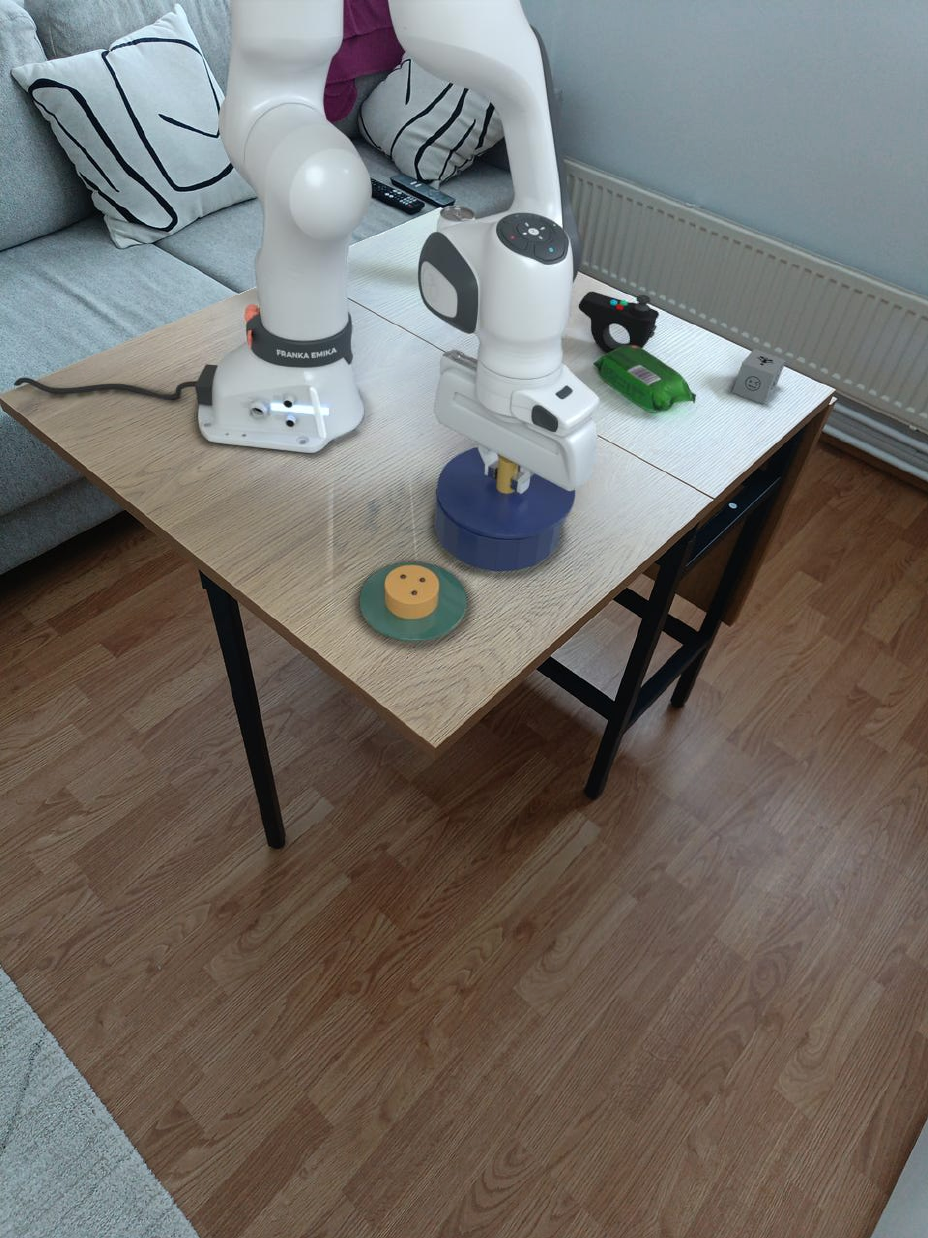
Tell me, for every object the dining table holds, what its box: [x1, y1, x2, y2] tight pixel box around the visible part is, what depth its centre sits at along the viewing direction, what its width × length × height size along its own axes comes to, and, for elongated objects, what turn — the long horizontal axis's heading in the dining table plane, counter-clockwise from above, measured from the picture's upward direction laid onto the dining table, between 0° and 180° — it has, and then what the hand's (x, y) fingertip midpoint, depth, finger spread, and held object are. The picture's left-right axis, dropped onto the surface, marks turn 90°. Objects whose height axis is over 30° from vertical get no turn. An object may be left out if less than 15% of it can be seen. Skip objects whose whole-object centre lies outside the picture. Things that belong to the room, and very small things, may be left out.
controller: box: [577, 291, 660, 354], centre depth 134 cm, size 4×12×10 cm, turn 61°
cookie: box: [385, 565, 439, 619], centre depth 97 cm, size 6×6×3 cm
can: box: [435, 205, 476, 232], centre depth 144 cm, size 6×6×12 cm
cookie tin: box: [433, 487, 563, 572], centre depth 106 cm, size 15×15×6 cm
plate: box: [359, 561, 468, 643], centre depth 98 cm, size 12×12×1 cm
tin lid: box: [436, 446, 576, 539], centre depth 102 cm, size 16×16×6 cm
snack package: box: [593, 345, 697, 414], centre depth 128 cm, size 7×16×5 cm, turn 35°
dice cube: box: [731, 348, 787, 405], centre depth 130 cm, size 5×5×5 cm
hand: (506, 481), depth 103 cm, fingers closed on tin lid, 2 cm apart
